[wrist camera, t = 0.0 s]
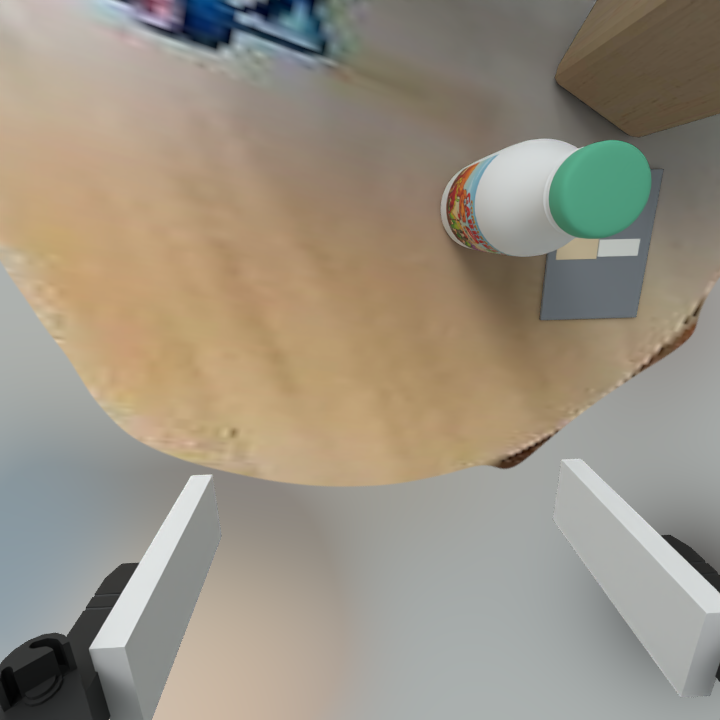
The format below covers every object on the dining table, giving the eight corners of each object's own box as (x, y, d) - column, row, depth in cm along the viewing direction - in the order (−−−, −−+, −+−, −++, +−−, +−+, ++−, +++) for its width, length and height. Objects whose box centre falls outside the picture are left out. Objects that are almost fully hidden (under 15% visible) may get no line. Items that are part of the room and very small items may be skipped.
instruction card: (556, 171, 39) (558, 170, 38) (661, 169, 39) (664, 168, 39) (539, 319, 43) (541, 320, 43) (634, 316, 43) (636, 317, 43)
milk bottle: (475, 143, 38) (613, 60, 19) (536, 198, 39) (719, 172, 20) (422, 216, 39) (498, 207, 20) (482, 265, 41) (605, 300, 22)
